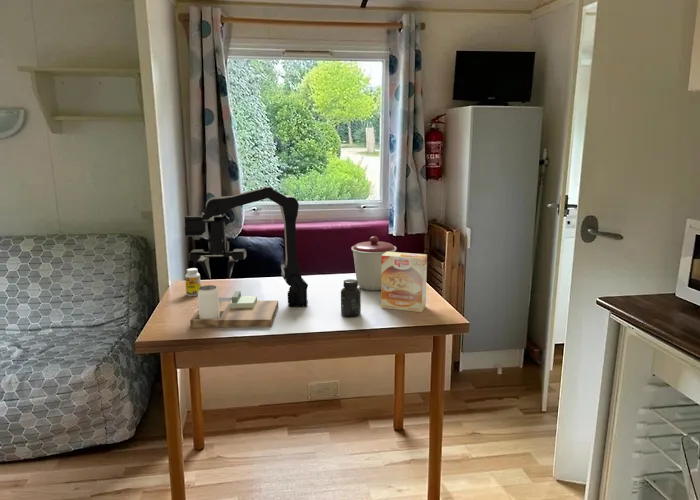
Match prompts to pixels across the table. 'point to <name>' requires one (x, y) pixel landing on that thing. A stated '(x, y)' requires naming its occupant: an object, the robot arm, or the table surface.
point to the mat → (224, 299)
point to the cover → (242, 301)
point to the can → (208, 302)
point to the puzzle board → (239, 316)
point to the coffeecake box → (403, 281)
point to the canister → (370, 262)
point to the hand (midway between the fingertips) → (219, 278)
